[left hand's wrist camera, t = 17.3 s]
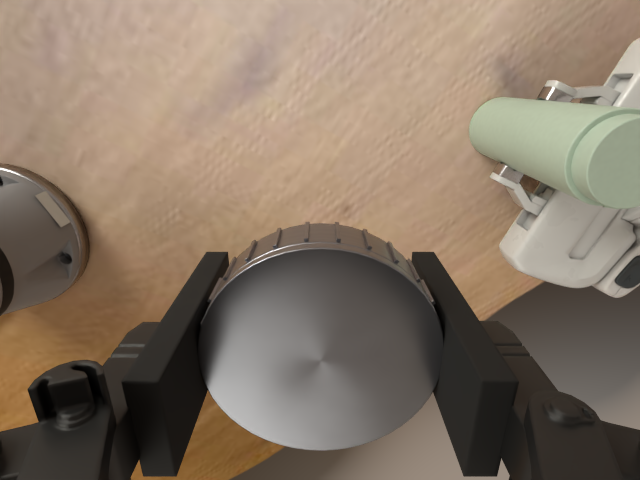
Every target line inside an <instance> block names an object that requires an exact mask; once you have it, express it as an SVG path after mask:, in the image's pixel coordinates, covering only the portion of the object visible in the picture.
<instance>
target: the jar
mask: <svg viewBox="0 0 640 480" xmlns="http://www.w3.org/2000/svg"><path fill="white" fill-rule="evenodd" d="M469 137H470V141H471V143H472V145H473V147H474V148H475V149H476V150H477V151H478V152H479V153H481V154H483V155H485V156H487V157H489V158H491V159H493V160H496V161H498V162H501V163H503V164H505V165H507V166H509V167H511V168H513V169H515V170H517V171H519V172H521V173H523V174H525V175H527V176H529V177H532V178H534V179H536V180H538V181H540V182H542V183H544V184H546V185H549V186H551V187H553V188H555V189H557V190H559V191H561V192H563V193H565V194H568V195H570V196H572V197H574V198H576V199H578V200H580V201H582V202H585V203H587V204H590V205H595V206H603V207H605V208H613V209H628V208H634V207H638V206H640V109H637V108H628V107H617V106H605V105H593V104H581V103H569V102H558V101H546V100H534V99H522V98H510V97H498V98H494V99H491V100H489V101H487V102H486V103H484V104H483V105H482V106H480V107H479V108H478V110H477V111H476V112H475V114H474V115H473V117H472V119H471V122H470V126H469Z"/></svg>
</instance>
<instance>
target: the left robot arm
mask: <svg viewBox="0 0 640 480" xmlns="http://www.w3.org/2000/svg"><path fill="white" fill-rule="evenodd" d="M88 255H89V243H88V236H87V232H86V229H85V226H84V224H83V221H82V219H81V217H80V215H79V213H78V212H77V210H76V209H75V207H74V206H73V204H72V203H71V202H70V201H69V199H68V198H67V197H66V196H65V195H64V194H63V193H62V192H61V191H60V190H59V189H58V188H57V187H55V186H54V185H53V184H52V183H50V182H49V181H47V180H46V179H44V178H43V177H41V176H39V175H37V174H35V173H33V172H31V171H29V170H26V169H24V168H21V167H17V166H13V165H8V164H0V316H1V315H3V314H7V313H10V312H13V311H17V310H20V309H23V308H27V307H30V306H33V305H37V304H40V303H43V302H46V301H49V300H51V299H54V298H56V297H57V296H59V295H60V294H62V293H63V292H65V291H66V290H67V289H68V288H70V287H71V286H72V285H73V284H74V283H75V282H76V281H77V280H78V279H79V278H80V277H81V275H82V274H83V272H84V270H85V267H86V264H87V261H88ZM412 264H413V266H414V268H415V270H416V272H417V274H418V276H419V278H420V280H424V282H425V284H426V286H427V288H428V290H429V292H430V294H431V296H432V298H433V299H434V301H435V304H434V305H433V306H434V309H435V311H436V313H437V315H438V318H439V320H440V323H441V327H442V331H443V336H444V347H443V355H442V362H441V369H440V376H439V379H438V382H437V385H436V387H435V389H434V390H433V393H434V396H435V398H436V401H437V404H438V407H439V409H440V412H441V415H442V418H443V420H444V423H445V426H446V429H447V431H448V434H449V437H450V440H451V442H452V445H453V448H454V451H455V453H456V456H457V459H458V462H459V464H460V467H461V470H462V473H463V476H497V474H498V470H499V465H500V461H501V458H502V460H503V462H504V464H505V466H506V468H507V470H508V473H509V475H510V477H509V480H640V430H637V429H633V428H629V427H624V426H620V425H616V424H611V423H608V422H605V421H601V420H600V419H599V417H598V416H597V414H596V412H595V411H594V410H592V409H591V408H590V407H589V406H588V405H587V404H585V403H584V402H582V401H581V400H579V399H577V398H575V397H573V396H571V395H568V394H565V393H562V392H559V391H558V390H557V389H556V388H555V386H554V385H553V384H552V382H551V381H550V380H549V378H548V377H547V376H546V374H545V373H544V372H543V371H542V369H541V368H540V367H539V365H538V364H537V363H536V361H535V360H534V359H533V358H532V357H531V356H530V354H529V352H528V351H527V350H526V348H525V347H524V346H522V343H521V342H520V341H519V339H518V338H517V337H516V335H515V334H514V333H513V331H511V330H510V329H508V328H507V327H505V326H504V325H502V324H501V323H500V322H498V321H479V320H478V318H477V317H476V315H475V314H474V312H473V311H472V309H471V308H470V306H469V305H468V303H467V302H466V300H465V299H464V297H463V296H462V294H461V293H460V291H459V290H458V288H457V287H456V285H455V284H454V282H453V281H452V279H451V277H450V276H449V274H448V273H447V271H446V270H445V268H444V267H443V265H442V264H441V262H440V261H439V259H438V258H437V256H436V255H435V253H434V252H412ZM228 267H229V259H228V252H206V254H205V255H204V257H203V258H202V260H201V261H200V263H199V264H198V266H197V267H196V269H195V270H194V272H193V273H192V275H191V276H190V278H189V279H188V281H187V282H186V284H185V285H184V287H183V288H182V290H181V291H180V293H179V295H178V296H177V298H176V299H175V301H174V302H173V304H172V305H171V307H170V308H169V310H168V311H167V313H166V314H165V316H164V317H163V319H162V320H161V322H143V323H141V324H140V325H138V326H137V327H135V328H134V329H133V330H131V331H130V332H128V333H127V335H126V336H125V337H124V339H123V340H122V341H121V343H120V344H119V347H117V348H116V349H115V350H114V352H113V353H112V354H111V358H108V360H107V361H106V362H105V364H104V365H103V366H101V365H100V364H99V363H98V362H95V361H90V360H79V361H72V362H68V363H65V364H61V365H58V366H56V367H54V368H52V369H50V370H48V371H46V372H45V373H43V374H42V375H41V376H39V377H38V378H37V379H35V380H34V382H33V383H32V384H31V385H30V387H29V388H28V392H29V395H30V398H31V401H32V404H33V407H34V410H35V412H36V415H37V418H38V421H39V422H38V423H35V424H31V425H27V426H23V427H19V428H14V429H10V430H6V431H2V432H0V480H131V475H132V473H133V471H134V469H135V467H136V465H137V463H138V460H140V464H141V469H142V473H143V476H177V473H178V471H179V468H180V465H181V462H182V460H183V457H184V454H185V451H186V449H187V446H188V443H189V440H190V438H191V435H192V432H193V429H194V427H195V424H196V421H197V418H198V415H199V413H200V410H201V407H202V404H203V402H204V399H205V396H206V393H207V391H208V389H207V387H206V385H205V382H204V380H203V377H202V374H201V370H200V366H199V359H198V348H197V346H198V337H199V331H200V327H201V326H200V323H201V321H202V319H203V317H204V315H205V313H206V311H207V309H208V307H209V305H210V303H209V302H208V299H209V297H210V295H211V293H212V292H213V290H214V288H215V286H216V284H217V282H218V280H219V278H223V276H224V275H225V273H226V271H227V269H228Z"/></svg>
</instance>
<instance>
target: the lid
mask: <svg viewBox="0 0 640 480" xmlns="http://www.w3.org/2000/svg"><path fill="white" fill-rule="evenodd" d="M208 302H209V303H210V305H209V307H208V309H207V311H206V313H205V315H204V317H203V319H202V321H201V323H200V326H201V327H200V331H199V337H198V346H197V348H198V359H199V366H200V370H201V374H202V377H203V380H204V382H205V385H206V387H207V389H208V391H209V392H210V394H211V396H212V398H213V399H214V400H215V402H216V403H217V404H218V405H219V407H220V408H221V409H222V410H223V411H224V412H225V413H226V414H227V415H228V416H229V417H230V418H231V419H232V420H234V421H235V422H236V423H237V424H239V425H240V426H241V427H243V428H244V429H246V430H248V431H249V432H251V433H252V434H255V435H257V436H259V437H261V438H263V439H265V440H268V441H271V442H273V443H276V444H279V445H283V446H287V447H291V448H298V449H304V450H337V449H344V448H350V447H354V446H358V445H362V444H366V443H368V442H371V441H374V440H377V439H379V438H381V437H383V436H385V435H387V434H389V433H391V432H393V431H394V430H396V429H397V428H399V427H401V426H402V425H403V424H405V423H406V422H407V421H408V420H410V419H411V418H412V417H413V416H414V415H415V414H416V413H417V412H418V411H419V410H420V409H421V408H422V407H423V405H424V404H425V403H426V401H427V400H428V399H429V397H430V396H431V394H432V392H433V390H434V389H435V387H436V385H437V382H438V379H439V376H440V369H441V362H442V355H443V347H444V336H443V331H442V327H441V323H440V320H439V318H438V315H437V313H436V311H435V309H434V306H433V305H434V304H435V301H434V299H433V298H432V296H431V294H430V292H429V290H428V288H427V286H426V284H425V282H424V280H420V278H419V276H418V274H417V272H416V270H415V268H414V266H413V264H412V262H411V260H410V259H408V260H406V259H405V258H404V256H403V255H402V254H400V253H399V252H398V251H397V250H396V249H395V248H394V247H393V245H392V243H391V242H389V241H388V243H386V242H385V241H383V240H382V239H380V238H378V237H376V236H374V235H372V234H370V233H368V232H367V230H366V229H363V231H362V230H359V229H356V228H353V227H348V226H343V225H339V222H335V224H323V223H319V224H310V223H309V222H306V223H305V225H299V226H294V227H289V228H286V229H283V230H281V228H279V229H277V232H274V233H272V234H270V235H268V236H266V237H264V238H262V239H260V240H259V241H256V240H254V241H252V243H251V246H250V247H248V248H247V249H246V250H245V251H244V252H243V253H241V254H240V255H239V256H238V257H237V258H235V257H234V258H233V259H232V261H231V263H230V265H229V267H228V269H227V271H226V273H225V275H224V276H223V278H219V280H218V282H217V284H216V286H215V288H214V290H213V292H212V293H211V295H210V297H209V299H208Z"/></svg>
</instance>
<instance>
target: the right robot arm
mask: <svg viewBox="0 0 640 480" xmlns="http://www.w3.org/2000/svg"><path fill="white" fill-rule="evenodd" d="M577 98H582V99H581V101H580V102H581V104H593V105H605V106H617V107H628V108H637V109H640V38H639V39H636V40H634V41H633V42H632V43H631V44H630V46H629V47H628V48H627V50H626V51H625V53H624V55H623V56H622V58H621V59H620V61H619V62H618V64H617V65H616V67H615V68H614V70H613V71H612V73H611V74H610V76H609V77H608V79H607V81H606V82H605V84H604V85H603V86H582V87H574V88H572V87H570V86H568V85H566V84H564V83H562V82H560V81H556V80H548V81H547V83H546V84H545V86H544V87H543V89H542V91H541V92H540V94H539V96H538V97H537V99H538V100H546V101H558V102H569V103H570V102H571V100H572V99H577ZM523 175H524V174H523V173H521V172H519V171H517V170H515V169H513V168H511V167H509V166H507V165H505V164H503V163H501V162H499V163H498V164H497V166H496V167H495V169H494V170H493V172H492V173H491V175H490V178H492V179H493V180H495V181H497V182H499V183H501V184H503V185H505V187H506V189H507V190H508V192H509V194H510V196H511V197H512V199H513V201H514V203H516V204H517V205H519V206H520V207H522V208H523V209H522V210H521V212H520V213H519V215H518V216H517V218H516V219H515V221H514V222H513V224H512V225H511V227H510V229H509V230H508V232H507V233H506V235H505V236H504V238H503V239H502V241H501V242H500V244H499V248H500V251H501V254H502V256H503V258H504V259H505V260H506V261H507V262H508V263H509V264H510V265H511V266H512V267H514V268H515V269H516V270H518V271H520V272H522V273H524V274H527V275H529V276H532V277H535V278H538V279H541V280H544V281H547V282H550V283H553V284H558V285H561V286H565V287H570V288H584V287H588V286H593V287H595V288H596V289H598V290H600V291H601V292H603V293H605V294H607V295H609V296H612V297H616V298H619V297H622V296H625V295H626V294H628V293H629V292H631V291H632V290H633V289H635V288H636V287H638V286H639V285H640V206H638V207H634V208H628V209H613V208H605V207H603V206H595V205H590V204H587V203H585V202H582V201H580V200H578V199H576V198H574V197H572V196H570V195H568V194H565V193H563V192H561V191H559V190H557V189H555V188H553V187H551V186H549V185H546V184H544V183H542V182H540V183H539V184H538V186H537V187H536V189H535V190H534V192H533V193H531V192H529V191H527V190H523V188H522V186H521V185H520V183H519V182H520V180H521V179H522V177H523Z"/></svg>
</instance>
